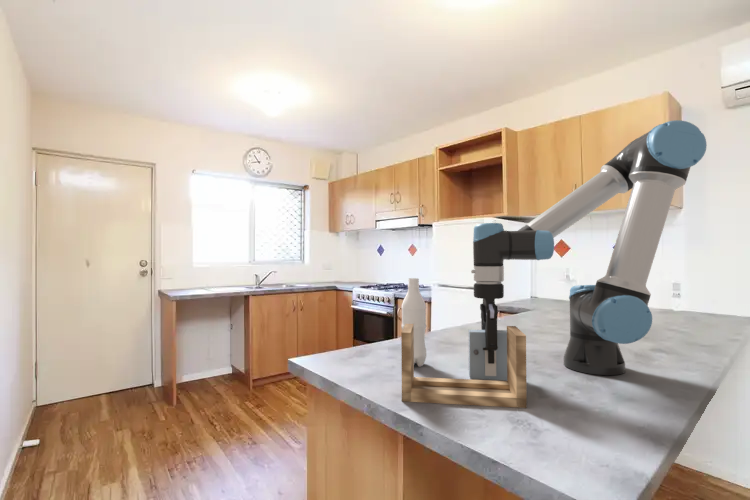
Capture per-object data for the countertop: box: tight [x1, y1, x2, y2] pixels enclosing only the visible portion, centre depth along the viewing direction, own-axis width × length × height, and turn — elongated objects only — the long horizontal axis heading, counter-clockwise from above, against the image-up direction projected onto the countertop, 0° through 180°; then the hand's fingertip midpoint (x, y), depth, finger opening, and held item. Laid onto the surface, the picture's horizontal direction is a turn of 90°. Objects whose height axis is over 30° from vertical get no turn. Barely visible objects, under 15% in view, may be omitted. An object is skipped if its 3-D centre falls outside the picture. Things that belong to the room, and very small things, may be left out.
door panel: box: [468, 329, 507, 381], centre depth 102 cm, size 10×4×12 cm, turn 81°
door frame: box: [400, 324, 528, 409], centre depth 89 cm, size 26×11×15 cm, turn 81°
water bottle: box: [400, 277, 427, 368], centre depth 114 cm, size 7×7×25 cm
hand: (489, 372), depth 102 cm, fingers open, 5 cm apart
